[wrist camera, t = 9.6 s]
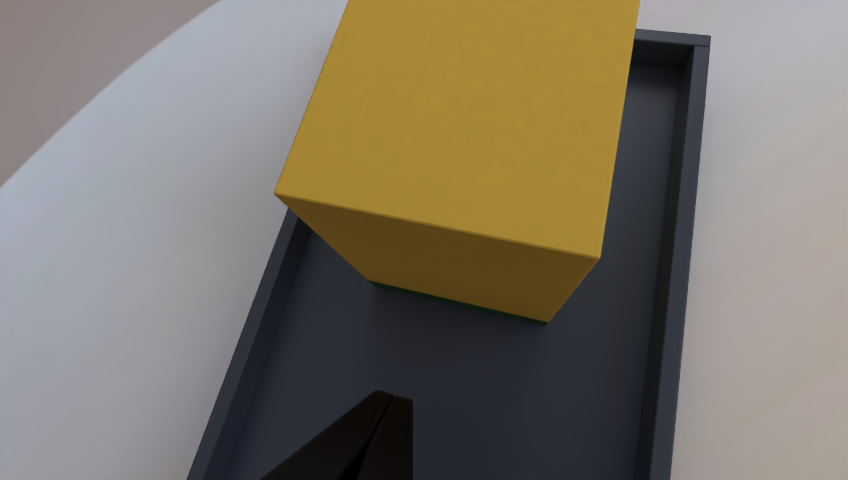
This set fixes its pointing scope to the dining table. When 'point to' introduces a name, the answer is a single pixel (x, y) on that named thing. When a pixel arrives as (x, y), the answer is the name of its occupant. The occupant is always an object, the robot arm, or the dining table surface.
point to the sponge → (466, 146)
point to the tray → (493, 331)
